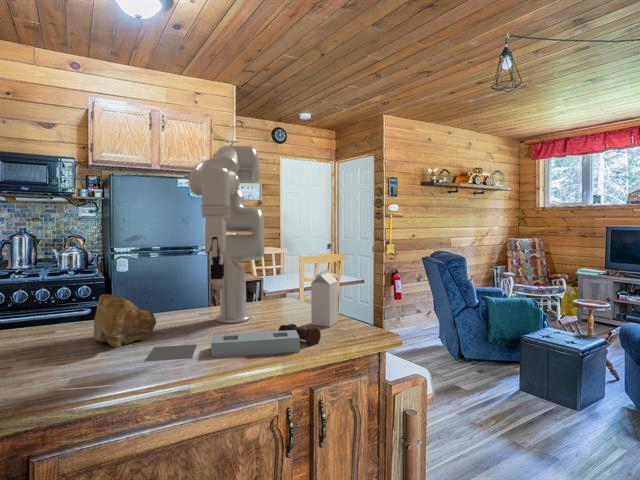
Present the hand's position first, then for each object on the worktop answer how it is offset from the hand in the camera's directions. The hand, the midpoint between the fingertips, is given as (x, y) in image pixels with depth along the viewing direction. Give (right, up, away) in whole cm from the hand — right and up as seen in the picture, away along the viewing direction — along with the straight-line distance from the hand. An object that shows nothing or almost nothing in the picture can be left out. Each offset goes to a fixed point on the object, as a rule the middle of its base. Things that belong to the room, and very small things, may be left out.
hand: (217, 277), depth 112 cm
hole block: (+10, -21, +2) cm, 23 cm away
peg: (0, -3, 0) cm, 3 cm away
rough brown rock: (-31, -21, +12) cm, 40 cm away
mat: (-13, -21, -1) cm, 25 cm away
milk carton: (+30, -20, +30) cm, 47 cm away
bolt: (+22, -21, +12) cm, 32 cm away
